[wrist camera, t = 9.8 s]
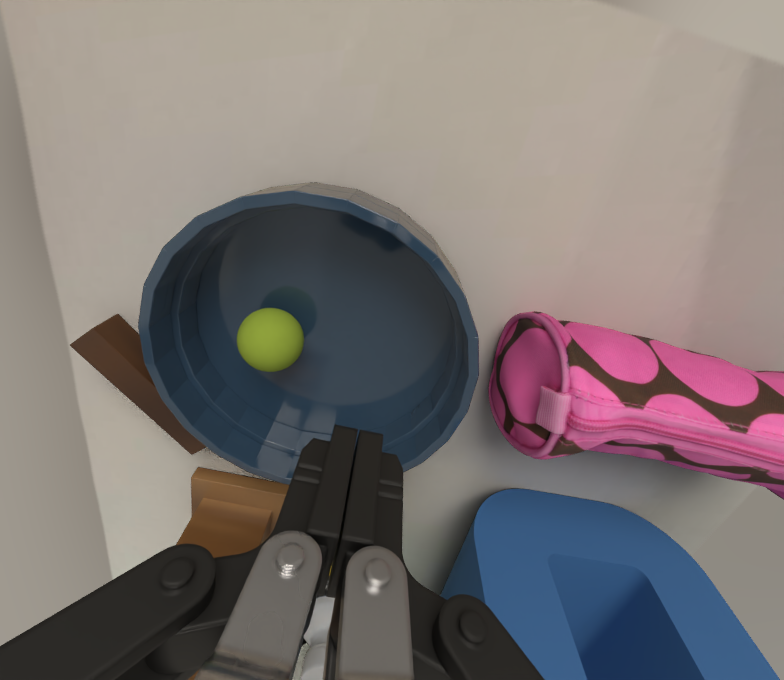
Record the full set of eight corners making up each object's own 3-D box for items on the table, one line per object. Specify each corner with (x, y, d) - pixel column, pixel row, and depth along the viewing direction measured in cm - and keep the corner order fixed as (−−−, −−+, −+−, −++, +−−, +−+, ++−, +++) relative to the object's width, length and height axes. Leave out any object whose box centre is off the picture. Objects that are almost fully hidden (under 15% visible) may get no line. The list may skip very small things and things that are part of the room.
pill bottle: (361, 492, 33) (340, 648, 23) (404, 532, 36) (403, 690, 25) (307, 520, 35) (266, 675, 25) (351, 556, 38) (330, 713, 27)
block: (663, 512, 33) (901, 854, 17) (578, 621, 41) (685, 922, 25) (464, 478, 32) (520, 808, 16) (416, 597, 40) (423, 894, 24)
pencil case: (823, 337, 25) (1051, 443, 16) (735, 446, 30) (877, 576, 21) (512, 276, 24) (575, 353, 15) (469, 399, 28) (498, 515, 19)
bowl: (127, 301, 26) (69, 334, 21) (344, 104, 20) (327, 93, 16) (315, 472, 32) (300, 524, 28) (517, 361, 27) (539, 404, 22)
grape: (238, 319, 25) (211, 348, 22) (281, 286, 24) (260, 310, 21) (280, 361, 27) (260, 395, 23) (322, 332, 26) (308, 362, 22)
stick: (191, 455, 29) (206, 433, 31) (214, 443, 28) (227, 422, 30) (68, 345, 25) (95, 329, 27) (92, 328, 24) (118, 313, 26)
